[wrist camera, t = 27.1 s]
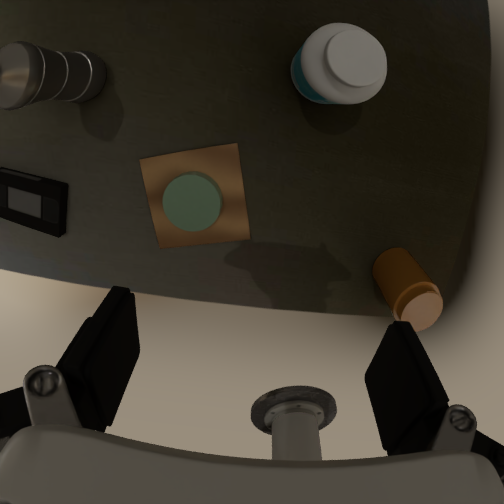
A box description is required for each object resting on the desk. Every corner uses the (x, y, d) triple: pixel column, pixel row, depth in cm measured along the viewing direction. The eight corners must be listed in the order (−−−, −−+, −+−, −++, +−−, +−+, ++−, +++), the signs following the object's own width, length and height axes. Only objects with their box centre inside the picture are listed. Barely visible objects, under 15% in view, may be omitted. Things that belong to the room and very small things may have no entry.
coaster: (250, 238, 40) (250, 239, 40) (160, 247, 41) (159, 249, 41) (237, 142, 35) (237, 143, 34) (140, 159, 36) (139, 159, 35)
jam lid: (173, 163, 36) (169, 167, 34) (230, 180, 36) (228, 184, 35) (161, 217, 39) (156, 222, 37) (214, 232, 40) (212, 239, 38)
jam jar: (406, 287, 43) (434, 333, 33) (367, 286, 43) (390, 335, 33) (417, 248, 40) (453, 289, 30) (377, 245, 40) (407, 289, 31)
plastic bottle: (86, 112, 33) (-32, 138, 15) (61, 77, 31) (-56, 85, 13) (121, 78, 31) (7, 73, 13) (95, 42, 29) (-20, 22, 11)
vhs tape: (1, 166, 36) (-7, 170, 34) (68, 183, 37) (61, 187, 35) (1, 210, 39) (-6, 215, 37) (66, 232, 40) (59, 237, 39)
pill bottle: (311, 115, 33) (339, 121, 21) (277, 60, 30) (286, 36, 18) (365, 87, 31) (418, 83, 19) (333, 33, 28) (370, 0, 16)
